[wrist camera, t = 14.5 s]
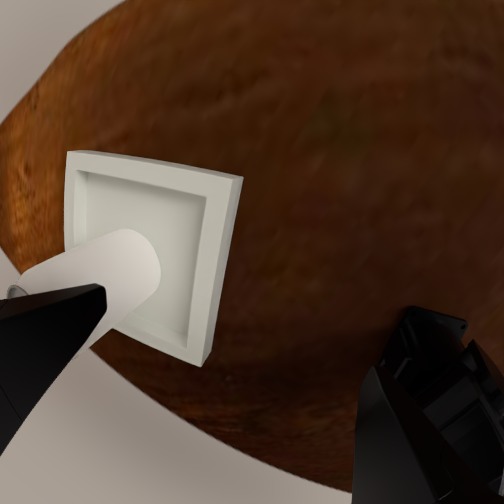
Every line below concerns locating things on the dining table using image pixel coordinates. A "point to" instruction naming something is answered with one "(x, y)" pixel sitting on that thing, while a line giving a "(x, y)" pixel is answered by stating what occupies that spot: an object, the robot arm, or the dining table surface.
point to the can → (100, 275)
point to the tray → (160, 238)
